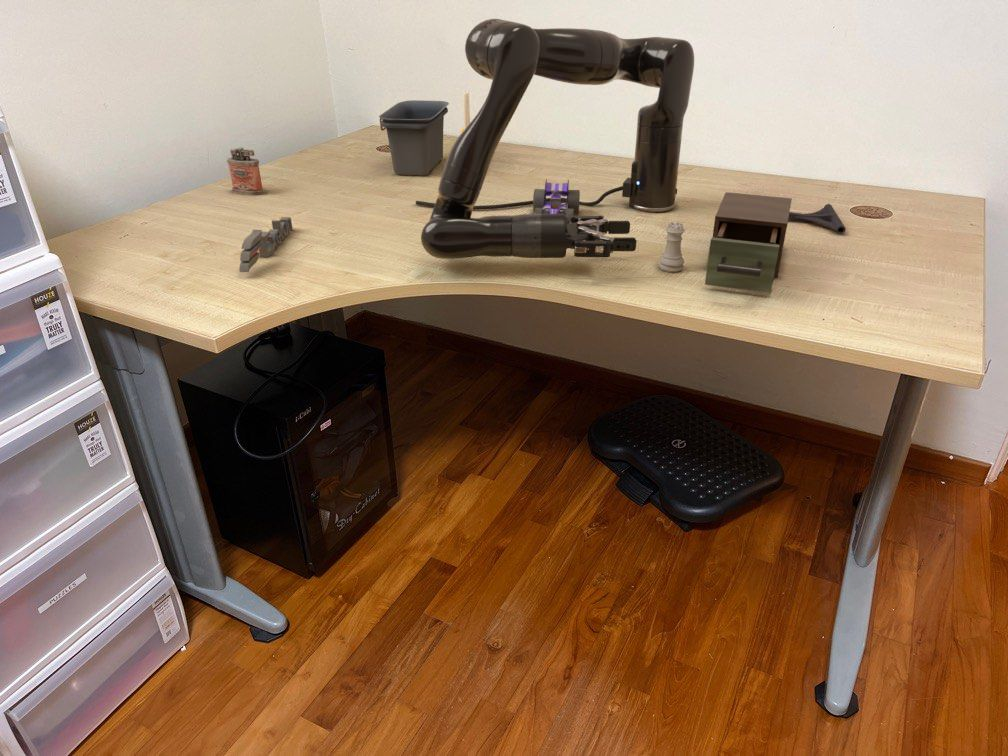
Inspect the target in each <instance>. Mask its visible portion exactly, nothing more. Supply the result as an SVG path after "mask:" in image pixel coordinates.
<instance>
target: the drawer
mask: <svg viewBox="0 0 1008 756" xmlns="http://www.w3.org/2000/svg"><path fill="white" fill-rule="evenodd" d="M778 228H779V227H771V226H761V225H752V224H742V223H733V222H723V223H722V225H721V228H720V230H719V233H718V235H717V238H714V237H713V236H712V237H710V243H709V251H708V257H707V265H706V272H705V278H704V279H705V280H704V285H705V286H711V287H712V286H713V287H719V288H720V287H721V288H726V289H735V290H736V289H737V290H743V291H750V292H758V293H767V294H771V293H772V289H773V283H774V278H775V277H774V273H775V267H776V262H777V256H778V251H779V245H777V244H776V239H777V233H778Z"/></svg>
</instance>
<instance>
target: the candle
mask: <svg viewBox="0 0 1008 756" xmlns="http://www.w3.org/2000/svg"><path fill="white" fill-rule="evenodd" d="M462 97H463V98H462V107H463V128H462V129H460V130H459V132H461V133H462V132H463V131H464V130H465V128H466V127H467V126H468V125H469V124H470V123H471V116H470V115H471V114H470V112H471V111H470V93H469V92H467V91H465V92H464V93H463V94H462Z"/></svg>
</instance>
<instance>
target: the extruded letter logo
mask: <svg viewBox="0 0 1008 756" xmlns="http://www.w3.org/2000/svg"><path fill="white" fill-rule="evenodd" d="M271 226H272V228H271V229H269V230H268V231H262V229H252V231H251V233H250V234H248V236H247V237H245V238H244V239H243V242H242V245H241V250H242V251H241V252H240V259H239V261H240V264H239V273H249V272H250V270H251V268H252V267H253V266H254V265H255V264H256V263H257V262H258V260H259V257H260V258H269V257H270V256H271V255H272V254H273V253H274V252H275V251H276V248H278V247H279V246H278V245H281V243H282V241H284V240H285V238H287V237H288V234H290V233H291V231H293V230H294V229H293V223H292V218H291V217H290V216H282V217H280V218H279V219H272V220H271Z"/></svg>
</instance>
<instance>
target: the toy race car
mask: <svg viewBox="0 0 1008 756" xmlns="http://www.w3.org/2000/svg"><path fill="white" fill-rule="evenodd" d="M569 183H570V180H569V179H567V182H563V183H561V182H559V183H557V182H548V179H547V178H546V179H545V182H544V188H535V189H534V190H533V194H532V195H533V196H532V200H533V204H532V210H533V214H565V215H566V219H567V224H569V223H570V217H572V216H575V214H580V205H579V201H580V196H581V195H580V194H581V191H580V189H569V188H570V187H569V186H570V184H569ZM548 197H550V198H551V199H550V200H547V198H548ZM562 197H566V198H567V199H568V201H567V199H566V201H563V200H562V199H561V198H562Z"/></svg>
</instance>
